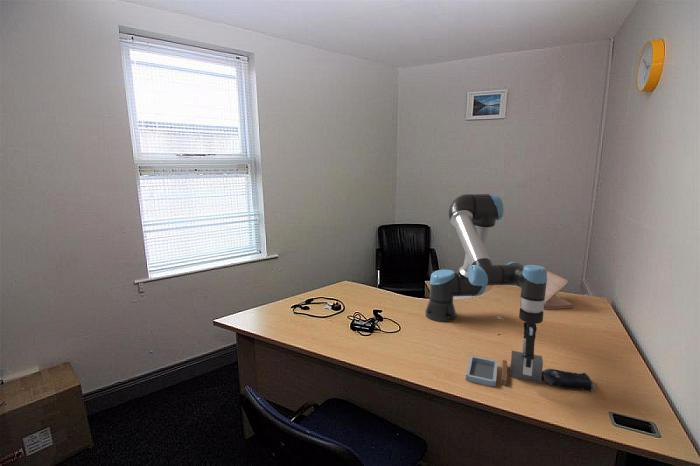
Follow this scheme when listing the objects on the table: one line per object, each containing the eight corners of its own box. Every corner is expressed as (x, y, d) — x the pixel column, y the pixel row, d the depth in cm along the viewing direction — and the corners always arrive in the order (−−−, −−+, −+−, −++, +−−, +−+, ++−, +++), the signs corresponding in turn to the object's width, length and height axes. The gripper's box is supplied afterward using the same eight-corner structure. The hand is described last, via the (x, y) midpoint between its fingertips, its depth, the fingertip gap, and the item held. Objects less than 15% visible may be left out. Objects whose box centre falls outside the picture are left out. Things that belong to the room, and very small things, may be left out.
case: (518, 296, 212) (520, 270, 209) (551, 295, 214) (554, 269, 211) (540, 311, 192) (543, 282, 189) (576, 309, 194) (580, 280, 191)
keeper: (465, 380, 129) (465, 375, 129) (470, 360, 143) (470, 355, 142) (495, 387, 125) (495, 382, 125) (497, 365, 139) (497, 361, 138)
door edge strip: (501, 384, 127) (501, 379, 126) (502, 364, 139) (502, 360, 139) (505, 385, 126) (506, 380, 126) (506, 365, 139) (507, 360, 138)
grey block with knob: (509, 377, 132) (511, 355, 130) (510, 370, 136) (511, 349, 134) (540, 383, 128) (543, 361, 126) (539, 376, 132) (542, 354, 130)
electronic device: (581, 381, 132) (538, 370, 135) (586, 368, 130) (542, 358, 133) (591, 399, 123) (544, 388, 126) (596, 387, 121) (548, 375, 124)
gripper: (546, 324, 114) (540, 386, 118) (541, 299, 137) (536, 351, 140) (520, 320, 117) (515, 380, 121) (519, 296, 140) (515, 347, 143)
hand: (526, 365), depth 131 cm, fingers open, 13 cm apart
